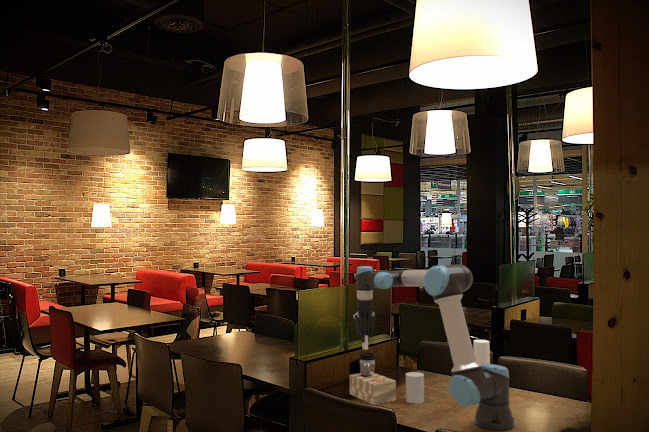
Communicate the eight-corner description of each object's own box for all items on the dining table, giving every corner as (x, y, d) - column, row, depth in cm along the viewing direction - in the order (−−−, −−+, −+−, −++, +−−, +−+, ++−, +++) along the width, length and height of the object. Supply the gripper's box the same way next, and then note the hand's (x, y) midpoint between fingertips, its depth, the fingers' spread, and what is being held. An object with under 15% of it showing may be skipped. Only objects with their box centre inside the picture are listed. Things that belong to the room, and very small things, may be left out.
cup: (424, 404, 245) (423, 377, 245) (405, 403, 247) (405, 376, 247) (424, 398, 253) (424, 372, 253) (406, 398, 254) (406, 371, 255)
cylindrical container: (478, 392, 262) (477, 339, 263) (493, 394, 258) (491, 340, 259) (472, 395, 257) (470, 341, 258) (486, 398, 252) (485, 343, 253)
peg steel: (372, 382, 260) (372, 362, 260) (364, 383, 257) (364, 364, 258) (367, 380, 263) (366, 361, 264) (359, 381, 261) (359, 362, 262)
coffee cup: (356, 382, 282) (355, 352, 283) (370, 380, 286) (370, 350, 286) (364, 386, 275) (363, 355, 275) (379, 384, 278) (378, 354, 279)
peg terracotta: (385, 399, 251) (385, 379, 251) (377, 401, 249) (377, 380, 249) (379, 397, 255) (379, 377, 255) (371, 398, 252) (371, 378, 253)
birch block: (395, 400, 250) (395, 380, 251) (374, 405, 244) (374, 384, 245) (370, 390, 268) (370, 371, 268) (349, 394, 262) (349, 374, 262)
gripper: (371, 297, 268) (371, 346, 268) (348, 299, 262) (349, 349, 261) (380, 298, 262) (381, 348, 261) (357, 300, 255) (358, 352, 255)
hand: (365, 349), depth 261 cm, fingers closed
